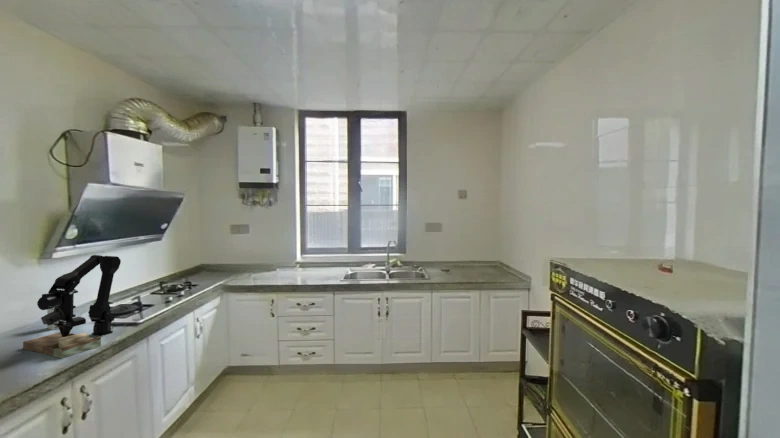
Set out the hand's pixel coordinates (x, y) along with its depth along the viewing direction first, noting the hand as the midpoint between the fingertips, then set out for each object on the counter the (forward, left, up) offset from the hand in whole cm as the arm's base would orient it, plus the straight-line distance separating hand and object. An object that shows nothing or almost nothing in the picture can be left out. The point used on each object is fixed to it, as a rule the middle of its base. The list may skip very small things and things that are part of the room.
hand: (64, 338), depth 177 cm
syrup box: (-16, -32, -4) cm, 36 cm away
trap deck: (0, -1, -4) cm, 4 cm away
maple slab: (+1, +8, -1) cm, 8 cm away
